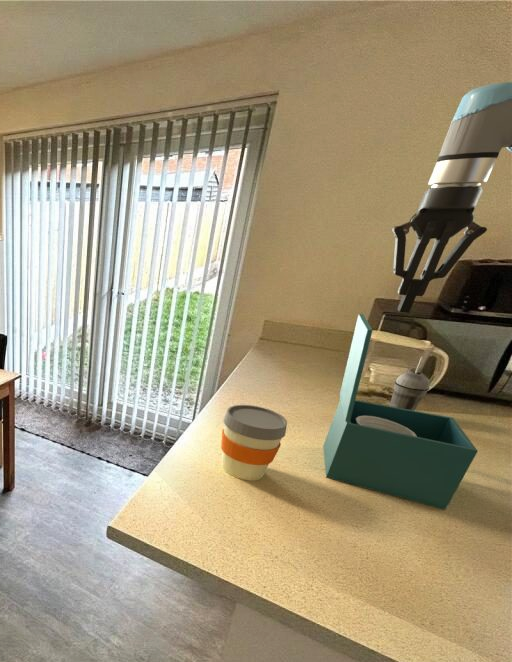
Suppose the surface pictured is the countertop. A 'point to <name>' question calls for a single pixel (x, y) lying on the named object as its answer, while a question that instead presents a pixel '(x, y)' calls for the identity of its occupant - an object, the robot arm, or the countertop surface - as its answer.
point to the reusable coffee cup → (250, 440)
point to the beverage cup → (410, 389)
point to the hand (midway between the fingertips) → (403, 311)
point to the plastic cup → (383, 424)
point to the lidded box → (399, 454)
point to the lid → (355, 365)
